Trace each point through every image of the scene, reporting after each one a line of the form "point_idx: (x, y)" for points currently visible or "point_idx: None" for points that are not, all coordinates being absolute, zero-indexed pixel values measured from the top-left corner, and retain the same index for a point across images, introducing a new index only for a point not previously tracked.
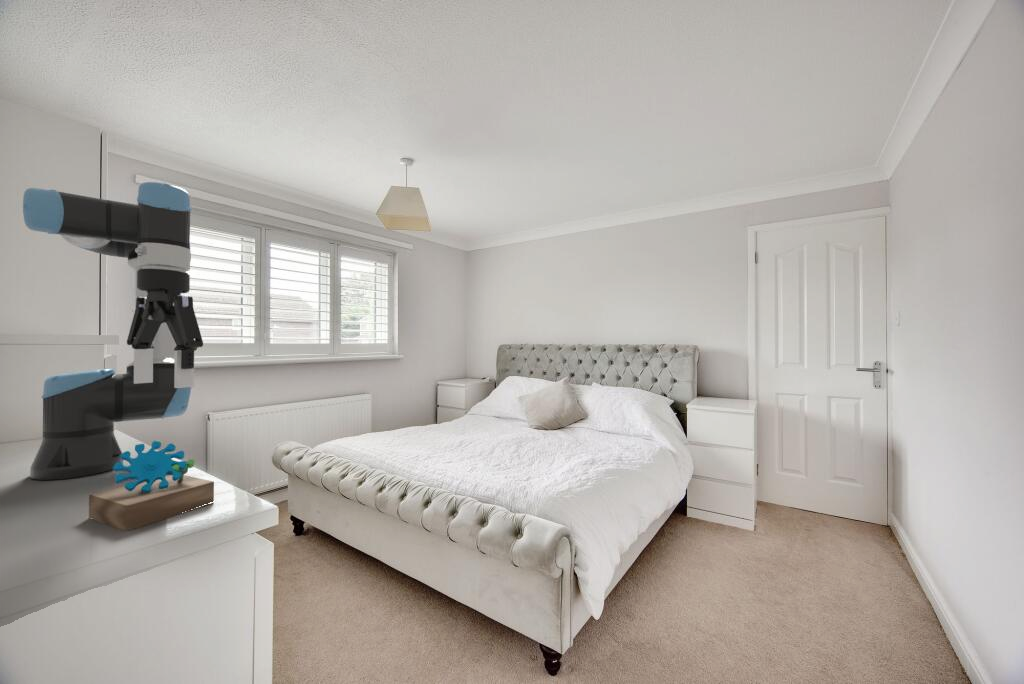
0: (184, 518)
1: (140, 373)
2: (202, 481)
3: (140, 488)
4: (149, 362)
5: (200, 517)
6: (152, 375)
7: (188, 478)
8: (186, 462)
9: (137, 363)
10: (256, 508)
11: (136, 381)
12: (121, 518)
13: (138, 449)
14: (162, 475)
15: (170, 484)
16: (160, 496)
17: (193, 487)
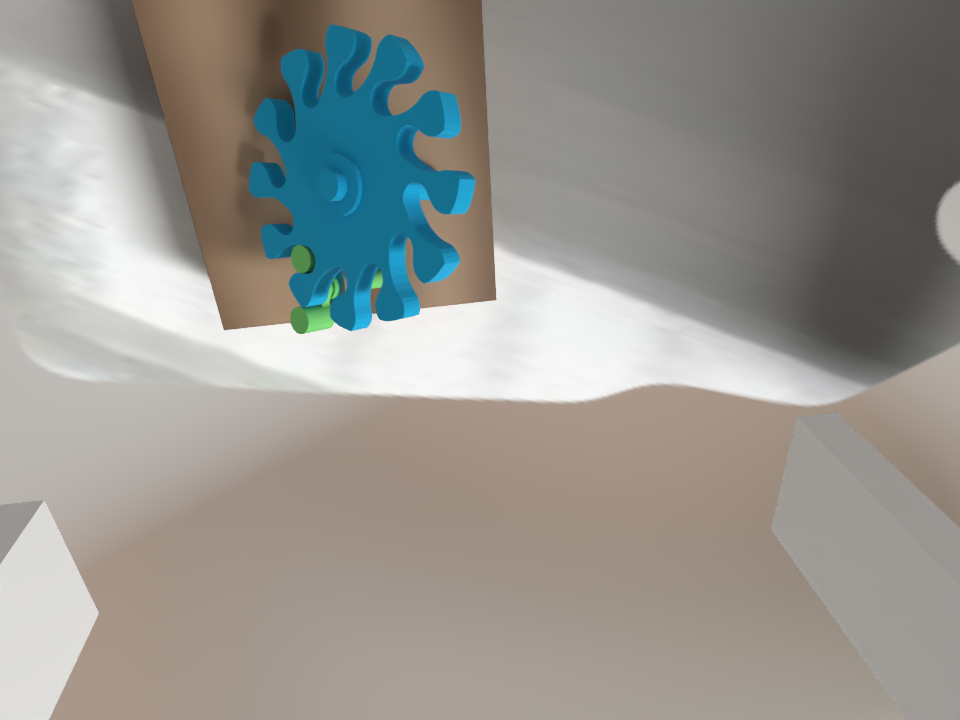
0: (144, 168)
1: (853, 519)
2: (267, 307)
3: None
4: (912, 692)
5: (107, 204)
6: (809, 579)
7: None
8: (302, 304)
9: (947, 593)
10: (50, 346)
11: (806, 434)
12: None
13: (432, 177)
14: (284, 194)
15: None
16: (167, 127)
17: (204, 255)
